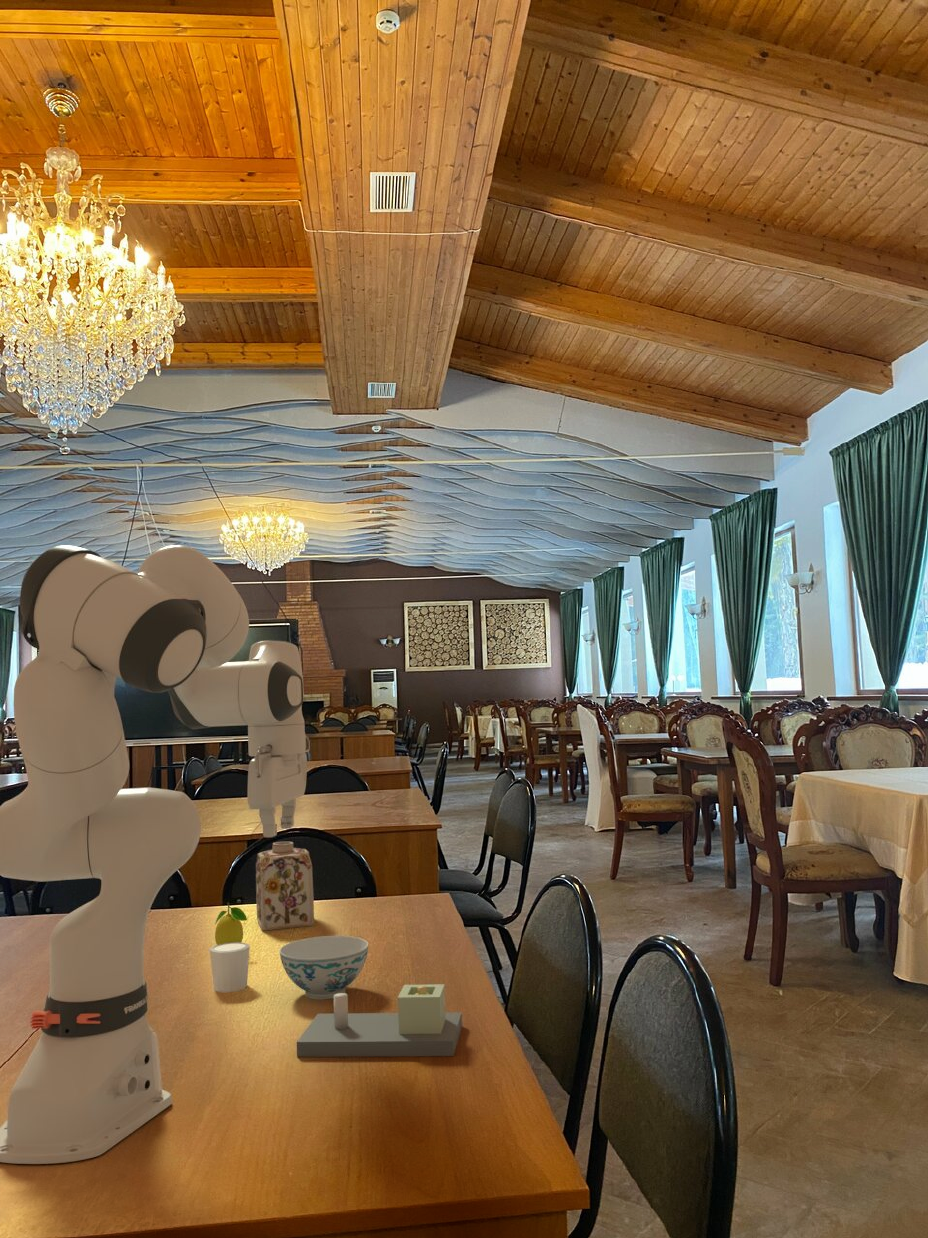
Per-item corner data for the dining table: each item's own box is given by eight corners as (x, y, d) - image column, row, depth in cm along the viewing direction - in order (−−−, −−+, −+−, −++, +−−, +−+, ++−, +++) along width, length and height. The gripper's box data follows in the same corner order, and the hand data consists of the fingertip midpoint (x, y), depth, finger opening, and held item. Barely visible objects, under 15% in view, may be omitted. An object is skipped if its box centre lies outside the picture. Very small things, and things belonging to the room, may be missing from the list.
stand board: (453, 1056, 132) (451, 1000, 132) (297, 1057, 134) (295, 1001, 134) (462, 1026, 143) (460, 974, 144) (318, 1027, 145) (316, 976, 146)
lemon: (248, 955, 190) (246, 903, 191) (217, 959, 188) (216, 907, 188) (242, 947, 196) (241, 897, 197) (213, 951, 194) (212, 901, 195)
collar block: (440, 1033, 135) (439, 997, 135) (398, 1034, 135) (397, 997, 136) (445, 1019, 141) (444, 984, 141) (405, 1019, 141) (404, 985, 142)
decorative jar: (256, 921, 220) (254, 841, 222) (307, 915, 224) (305, 837, 225) (261, 932, 209) (259, 848, 210) (314, 926, 212) (312, 844, 214)
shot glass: (240, 994, 164) (239, 952, 165) (203, 993, 166) (202, 951, 166) (256, 982, 171) (256, 942, 172) (221, 981, 172) (220, 941, 173)
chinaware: (284, 1012, 153) (283, 963, 154) (277, 986, 168) (276, 941, 168) (377, 1000, 157) (375, 952, 158) (362, 976, 172) (360, 932, 172)
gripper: (277, 746, 141) (279, 841, 140) (312, 740, 161) (314, 823, 160) (235, 748, 142) (237, 843, 140) (275, 741, 162) (277, 824, 161)
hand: (279, 832), depth 150 cm, fingers open, 8 cm apart
